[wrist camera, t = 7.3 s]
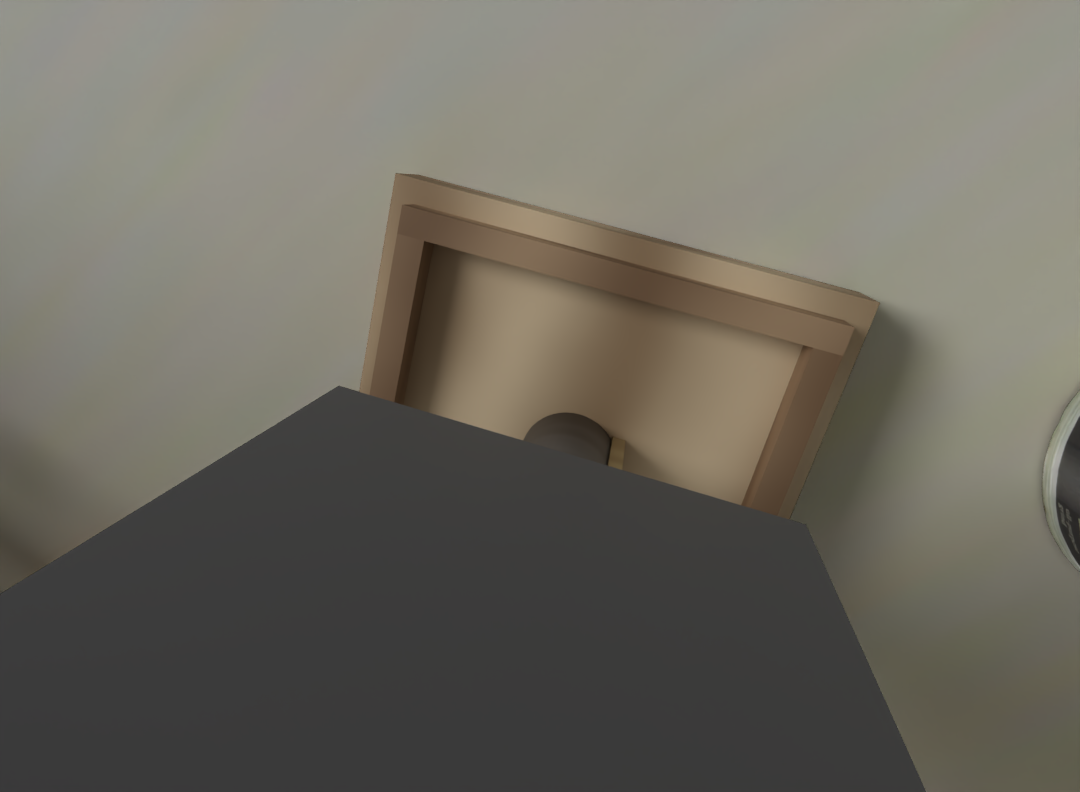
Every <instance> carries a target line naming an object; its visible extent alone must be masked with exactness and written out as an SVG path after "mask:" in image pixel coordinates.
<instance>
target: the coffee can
mask: <svg viewBox="0 0 1080 792" xmlns="http://www.w3.org/2000/svg"><path fill="white" fill-rule="evenodd" d="M1042 497H1043V504H1044V510H1045V514H1046V519H1047V523H1048V526H1049V528H1050V531H1051V533H1052V535H1053V537H1054V539H1055V541H1056V543H1057V544H1058V546H1059V548H1060V549H1061V551H1062V552H1063V554H1064V555H1065V556H1066V558H1067V559H1068V560H1069V561H1070V562H1071V564H1072V565H1073V566H1074V567H1075V568H1076V569H1077V570H1078V571H1079V572H1080V391H1079V392H1078V393H1077V395H1076V396H1075V397H1074V398H1073V399H1072V400H1071V402H1070V403H1069V404H1068V406H1067V407H1066V409H1065V411H1064V413H1063V415H1062V417H1061V420H1060V422H1059V424H1058V426H1057V428H1056V429H1055V431H1054V433H1053V435H1052V438H1051V441H1050V444H1049V447H1048V450H1047V454H1046V457H1045V461H1044V467H1043V478H1042Z"/></svg>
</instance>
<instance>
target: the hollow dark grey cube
mask: <svg viewBox="0 0 1080 792" xmlns="http://www.w3.org/2000/svg"><path fill="white" fill-rule="evenodd" d="M0 792H926V791H925V788H924V786H923V784H922V782H921V779H920V777H919V775H918V773H917V771H916V768H915V766H914V764H913V762H912V759H911V757H910V755H909V753H908V751H907V748H906V746H905V744H904V742H903V739H902V737H901V735H900V733H899V731H898V728H897V726H896V724H895V722H894V719H893V717H892V715H891V713H890V711H889V708H888V706H887V704H886V702H885V699H884V697H883V695H882V693H881V691H880V688H879V686H878V684H877V682H876V679H875V677H874V675H873V673H872V671H871V668H870V666H869V664H868V662H867V659H866V657H865V655H864V653H863V650H862V648H861V646H860V644H859V642H858V639H857V637H856V635H855V633H854V630H853V628H852V626H851V624H850V622H849V619H848V617H847V615H846V613H845V610H844V608H843V606H842V604H841V602H840V599H839V597H838V595H837V593H836V590H835V588H834V586H833V584H832V582H831V579H830V577H829V575H828V573H827V570H826V568H825V566H824V564H823V562H822V559H821V557H820V555H819V553H818V550H817V548H816V546H815V544H814V542H813V539H812V537H811V535H810V533H809V530H808V528H807V526H806V524H803V523H799V522H796V521H793V520H789V519H786V518H782V517H779V516H776V515H772V514H769V513H766V512H762V511H759V510H755V509H752V508H749V507H745V506H742V505H739V504H735V503H732V502H729V501H725V500H722V499H718V498H715V497H712V496H708V495H705V494H702V493H698V492H695V491H691V490H688V489H685V488H681V487H678V486H675V485H671V484H668V483H665V482H661V481H658V480H654V479H651V478H648V477H644V476H641V475H638V474H634V473H631V472H627V471H624V470H621V469H617V468H614V467H611V466H607V465H604V464H601V463H597V462H594V461H590V460H587V459H584V458H580V457H577V456H574V455H570V454H567V453H563V452H560V451H557V450H553V449H550V448H547V447H543V446H540V445H537V444H533V443H530V442H526V441H523V440H520V439H516V438H513V437H510V436H506V435H503V434H499V433H496V432H493V431H489V430H486V429H483V428H479V427H476V426H473V425H469V424H466V423H462V422H459V421H456V420H452V419H449V418H446V417H442V416H439V415H436V414H432V413H429V412H425V411H422V410H419V409H415V408H412V407H409V406H405V405H402V404H398V403H395V402H392V401H388V400H385V399H382V398H378V397H375V396H372V395H368V394H365V393H361V392H358V391H355V390H351V389H348V388H345V387H341V386H338V387H336V388H334V389H333V390H331V391H329V392H328V393H326V394H325V395H323V396H321V397H320V398H318V399H316V400H315V401H313V402H312V403H310V404H308V405H307V406H305V407H303V408H302V409H300V410H299V411H297V412H295V413H294V414H292V415H290V416H289V417H287V418H286V419H284V420H282V421H281V422H279V423H277V424H276V425H274V426H273V427H271V428H269V429H268V430H266V431H264V432H263V433H261V434H260V435H258V436H256V437H255V438H253V439H251V440H250V441H248V442H247V443H245V444H243V445H242V446H240V447H238V448H237V449H235V450H234V451H232V452H230V453H229V454H227V455H225V456H224V457H222V458H221V459H219V460H217V461H216V462H214V463H212V464H211V465H209V466H207V467H206V468H204V469H203V470H201V471H199V472H198V473H196V474H194V475H193V476H191V477H190V478H188V479H186V480H185V481H183V482H181V483H180V484H178V485H177V486H175V487H173V488H172V489H170V490H168V491H167V492H165V493H164V494H162V495H160V496H159V497H157V498H155V499H154V500H152V501H151V502H149V503H147V504H146V505H144V506H142V507H141V508H139V509H138V510H136V511H134V512H133V513H131V514H129V515H128V516H126V517H125V518H123V519H121V520H120V521H118V522H116V523H115V524H113V525H112V526H110V527H108V528H107V529H105V530H103V531H102V532H100V533H99V534H97V535H95V536H94V537H92V538H90V539H89V540H87V541H86V542H84V543H82V544H81V545H79V546H77V547H76V548H74V549H73V550H71V551H69V552H68V553H66V554H64V555H63V556H61V557H60V558H58V559H56V560H55V561H53V562H51V563H50V564H48V565H47V566H45V567H43V568H42V569H40V570H38V571H37V572H35V573H34V574H32V575H30V576H29V577H27V578H25V579H24V580H22V581H21V582H19V583H17V584H16V585H14V586H12V587H11V588H9V589H7V590H6V591H4V592H3V593H1V594H0Z"/></svg>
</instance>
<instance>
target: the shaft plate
mask: <svg viewBox="0 0 1080 792" xmlns="http://www.w3.org/2000/svg"><path fill="white" fill-rule="evenodd" d="M879 304H880V303H879V302H877V301H875V300H873V299H871V298H869V297H867V296H865V295H863V294H861V293H859V292H856V291H852V290H848V289H844V288H841V287H837V286H833V285H829V284H826V283H822V282H818V281H815V280H811V279H807V278H803V277H800V276H796V275H792V274H788V273H785V272H781V271H777V270H773V269H770V268H766V267H762V266H758V265H755V264H751V263H747V262H743V261H740V260H736V259H732V258H728V257H725V256H721V255H717V254H713V253H710V252H706V251H702V250H698V249H695V248H691V247H687V246H683V245H680V244H676V243H672V242H668V241H665V240H661V239H657V238H653V237H650V236H646V235H642V234H638V233H635V232H631V231H627V230H623V229H620V228H616V227H612V226H608V225H605V224H601V223H597V222H593V221H590V220H586V219H582V218H579V217H575V216H571V215H567V214H564V213H560V212H556V211H552V210H549V209H545V208H541V207H537V206H534V205H530V204H526V203H522V202H519V201H515V200H511V199H507V198H504V197H500V196H496V195H492V194H489V193H485V192H481V191H477V190H474V189H470V188H466V187H462V186H459V185H455V184H451V183H447V182H444V181H440V180H436V179H432V178H429V177H425V176H421V175H414V174H398V173H396V174H395V180H394V186H393V192H392V198H391V204H390V210H389V216H388V222H387V228H386V234H385V240H384V246H383V252H382V258H381V264H380V270H379V276H378V282H377V288H376V294H375V300H374V306H373V312H372V318H371V324H370V330H369V336H368V342H367V348H366V354H365V360H364V366H363V372H362V378H361V384H360V390H359V392H361V393H365V394H368V395H372V396H375V397H378V398H382V399H385V400H388V401H392V402H395V403H398V404H402V405H405V406H409V407H412V408H415V409H419V410H422V411H425V412H429V413H432V414H436V415H439V416H442V417H446V418H449V419H452V420H456V421H459V422H462V423H466V424H469V425H473V426H476V427H479V428H483V429H486V430H489V431H493V432H496V433H499V434H503V435H506V436H510V437H513V438H516V439H520V440H523V441H526V442H530V443H533V444H537V445H540V446H543V447H547V448H550V449H553V450H557V451H560V452H563V453H567V454H570V455H574V456H577V457H580V458H584V459H587V460H590V461H594V462H597V463H601V464H604V465H607V466H611V467H614V468H617V469H621V470H624V471H627V472H631V473H634V474H638V475H641V476H644V477H648V478H651V479H654V480H658V481H661V482H665V483H668V484H671V485H675V486H678V487H681V488H685V489H688V490H691V491H695V492H698V493H702V494H705V495H708V496H712V497H715V498H718V499H722V500H725V501H729V502H732V503H735V504H739V505H742V506H745V507H749V508H752V509H755V510H759V511H762V512H766V513H769V514H772V515H776V516H779V517H782V518H786V519H790V517H791V514H792V512H793V510H794V507H795V505H796V502H797V500H798V498H799V495H800V493H801V491H802V488H803V486H804V483H805V481H806V479H807V476H808V474H809V471H810V469H811V467H812V464H813V462H814V459H815V457H816V455H817V452H818V450H819V448H820V445H821V443H822V440H823V438H824V436H825V433H826V431H827V428H828V426H829V424H830V421H831V419H832V416H833V414H834V412H835V409H836V407H837V405H838V402H839V400H840V397H841V395H842V393H843V390H844V388H845V385H846V383H847V381H848V378H849V376H850V374H851V371H852V369H853V366H854V364H855V362H856V359H857V357H858V354H859V352H860V350H861V347H862V345H863V342H864V340H865V338H866V335H867V333H868V331H869V328H870V326H871V323H872V321H873V319H874V316H875V314H876V311H877V309H878V307H879Z"/></svg>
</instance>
